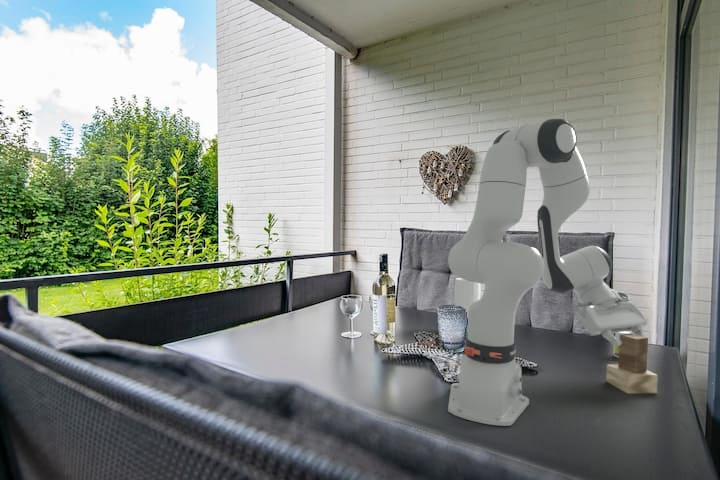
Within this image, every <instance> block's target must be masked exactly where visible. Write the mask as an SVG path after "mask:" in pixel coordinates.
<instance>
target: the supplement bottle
mask: <svg viewBox="0 0 720 480" xmlns="http://www.w3.org/2000/svg"><path fill="white" fill-rule="evenodd" d="M614 333H615V334H614V336H615V337H616V338H617V339H620V335H622V334H631V331H623V332H614ZM612 353H613V356H614V357H616V358H618V359H619V347H614V346H613V352H612Z"/></svg>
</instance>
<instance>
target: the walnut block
mask: <svg viewBox="0 0 720 480" xmlns="http://www.w3.org/2000/svg"><path fill="white" fill-rule="evenodd" d="M620 340H621V342H622V343H623V345H622V346H621V347H619V358H618V363H617V364H618V368H621V369H624V370H627V371H630V372H633V373H640V372H647V370H648V369H647V368H648V367H647V366H648V365H647V364H648V351H649V347H648V346H649V344H648V343H649V337H646V336H644V337H643V336H639V335H635V334H634V333H630V334H622V335H620Z"/></svg>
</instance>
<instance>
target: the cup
mask: <svg viewBox="0 0 720 480" xmlns="http://www.w3.org/2000/svg"><path fill="white" fill-rule="evenodd" d="M481 292H482V291H481V283H476V282H470V281H467V280H464V279H462V278H460V277H455V280H454V305H455V307H456V306H461V307H464V308H465V309H466V312H467V318H468V310H469V307H470V306H471V305H472V304H473V303H474V302H476V301H478V300H480V299H481Z"/></svg>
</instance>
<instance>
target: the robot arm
mask: <svg viewBox="0 0 720 480" xmlns="http://www.w3.org/2000/svg"><path fill="white" fill-rule="evenodd" d="M573 126H574V125H572V124H571V123H570V122H568V121H567V120H566V119H564V118H550V119H547V120H544V121H538V122H534V123H533V122H532V123H528V124H523V125H520V126H518V127H516V128H513V129H509V130H506V131H504V132H502V133H500V134H499V135H498V136H497V137H495V140H494V141H493V144H492V145H491V146H490V147H489V148H488V150H487V151H486V154H485V157H484V160H483V164H482V167H481V171H480V177H479V183H478V190H477V195H476V196H477V198H476V203H475V209H474V213H473V217H472V220H471V222H470V225H469V226H468V228H467V230H466V232H465V233H464V235H463V237H462V238H461V239H460V240H458V242H457V243H455V244H454V245H453V246H452V247H451V249H450V250H449V253H448V257H447V261H448V262H447V263H448V268H449V270H450V272H451V273H452V274H453V275H455V276H456V277H457V278H462V279H464V280H467V281H470V282H476V283H480V285H481V284H483V285H484V290H483V293H482V296H481V297H480V300H478V301H476V302H474V303H473V304H472V305H471V306H470V307H469V310H468V327H467V336H466V337H465V342H464V351H463V352H464V354H463V355H462V356H461V357H460V360H459V361H460V368H459V370H460V372H459V375H457V376H456V377H455V380H456V382H455V383H452V384H451V385H450V391H449V399H448V405H447V411H448V412H449V413H450V414H452V415H454V416H456V417H459V418H461V419H464V420H469V421H472V422H476V423H479V424H484V425H490V426H497V427H498V426H502V427H507V426H508V427H510V426H512V425H513V424H514V423H515V422H516V420H517V419H518V418H519V417H520V415H521V414H522V413H524V411H525V410H526V408H527V407H528V406H529V405H530V399H529V398H528V397H527V396H525V395H523V394H522V367H521V366H520V364H518V362H517V361H516V359H515V358H516V352H517V348H516V342H515V341H514V340H515V337H514V336H515V324H516V314H517V310H518V307H519V304H520V302H521V300H522V298H523V297H524V295H525V294H526V293H527V292H528V291H530V290H531V289H532V288H534V287H535V286H537V285H538V283H539V282H540V281H541V280H542V282H543V284H544V286H545V287H546V288H547V289H548V290H549V291H551V292H554V293H557V294H561V295H564V294H566V293H569V292H570V291H573V292H574V293H575V294H576V295H577V299H578V301H579V303H577V304H576V306H575V310H576V311H577V312H578V318H580V319H579V320H580V321H581V323H582V324H583V326H584V328H585V330H586V331H587V332H588V333H589V334H590V335H594V336H595V335H601V336H602V337H603V338H604V339H606V340H607V341H608V342H609V343H611V344H612V346H613V348H614V347H621V346H622V345H623V343H622V342H621V340H620V339H617V338H616V337H615V336H616V335H615V334H613V333H616V332H623V331H627V332H632V334H635V335H639V336H643V337H645V334H644V330H643V328H645V327H646V326H647V325H648V320H647V317H645V315H644V314H643V313H642V311H641V310H640V309H639V308H638V306H637V305H636V304H635V303H633V302H632V301H630V300H632V299H631V296H629V294H628V293H626V292H621V291H618V290H616V289H613V288H610V286H609V284H607V283H605V281H604V279H605V278H607V277H608V276H609V274H610V273H611V270H612V269H613V260H612V258H611V256H610V255H609V254H608V253H607V251H606V250H605V249H603V248H601V247H600V246H596V245H589V246H585V247H582V248H580V249H577V250H574V251H572V252H569V253H567V254H564V255H562V256H561V253H560V243H559V231H560V228H561V227H562V225H563V224H564V223H566V221H568V219H569V218H570V217H571V216H572V215H573V214H575V213H576V212H577V211H578V210H580V209H581V208H582V207H583V205H584V204H585V203H586V201H587V199H588V198H589V196H590V191H591V188H590V187H591V186H590V182H589V181H590V180H589V176H588V175H587V170H586V167H585V164H584V161H583V159H582V156H581V154H580V152H579V150H578V147H577V143H578V142H577V140H578V139H577V133H576V130H575V128H574V127H573ZM536 167H537V168H538V171H539V177H540V181H541V184H542V189H543V199H542V203H541V206H540V207H539V208H538V210H537V216H536V217H537V232H538V241H539V250H540V251H539V250H538V249H537V248H535V247H533V246H530V245H527V244H524V243H520V242H513V241H503V239H504V236H505V235H506V233H507V232H508V230H509V229H511V228H512V227H514V226H516V225H517V224H518V223H519V222H520V221H521V219H522V217H523V213H524V211H523V210H524V202H525V195H526V194H525V193H526V188H527V173H528V172H527V171H528V168H536Z"/></svg>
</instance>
